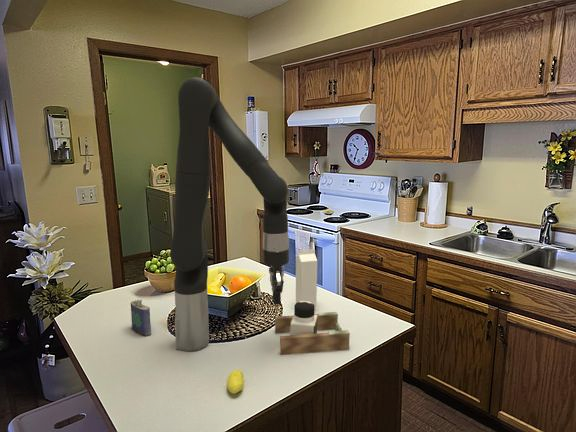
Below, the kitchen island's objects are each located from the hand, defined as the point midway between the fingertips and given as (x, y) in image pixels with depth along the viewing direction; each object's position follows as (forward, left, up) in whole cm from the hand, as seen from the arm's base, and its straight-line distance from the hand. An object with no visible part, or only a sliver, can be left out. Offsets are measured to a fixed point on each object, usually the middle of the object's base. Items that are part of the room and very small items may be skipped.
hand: (276, 303), depth 114 cm
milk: (+13, +22, -13) cm, 29 cm away
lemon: (-13, -20, -13) cm, 27 cm away
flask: (-42, +13, -13) cm, 46 cm away
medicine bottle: (+8, 0, -13) cm, 15 cm away
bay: (+10, 0, -13) cm, 16 cm away
